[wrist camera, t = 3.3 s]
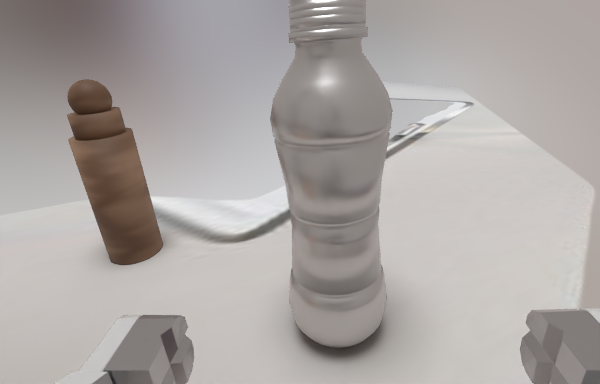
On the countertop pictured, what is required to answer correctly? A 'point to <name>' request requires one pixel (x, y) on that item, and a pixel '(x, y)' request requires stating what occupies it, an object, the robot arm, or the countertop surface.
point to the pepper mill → (112, 175)
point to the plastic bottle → (333, 171)
